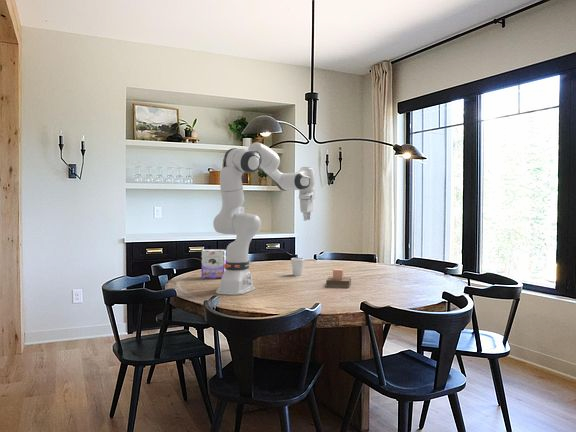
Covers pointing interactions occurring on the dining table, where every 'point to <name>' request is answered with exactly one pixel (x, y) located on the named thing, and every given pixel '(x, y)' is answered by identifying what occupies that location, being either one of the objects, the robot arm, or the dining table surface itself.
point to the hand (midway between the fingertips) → (307, 220)
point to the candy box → (213, 263)
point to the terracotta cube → (338, 274)
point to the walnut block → (338, 282)
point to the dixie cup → (297, 266)
